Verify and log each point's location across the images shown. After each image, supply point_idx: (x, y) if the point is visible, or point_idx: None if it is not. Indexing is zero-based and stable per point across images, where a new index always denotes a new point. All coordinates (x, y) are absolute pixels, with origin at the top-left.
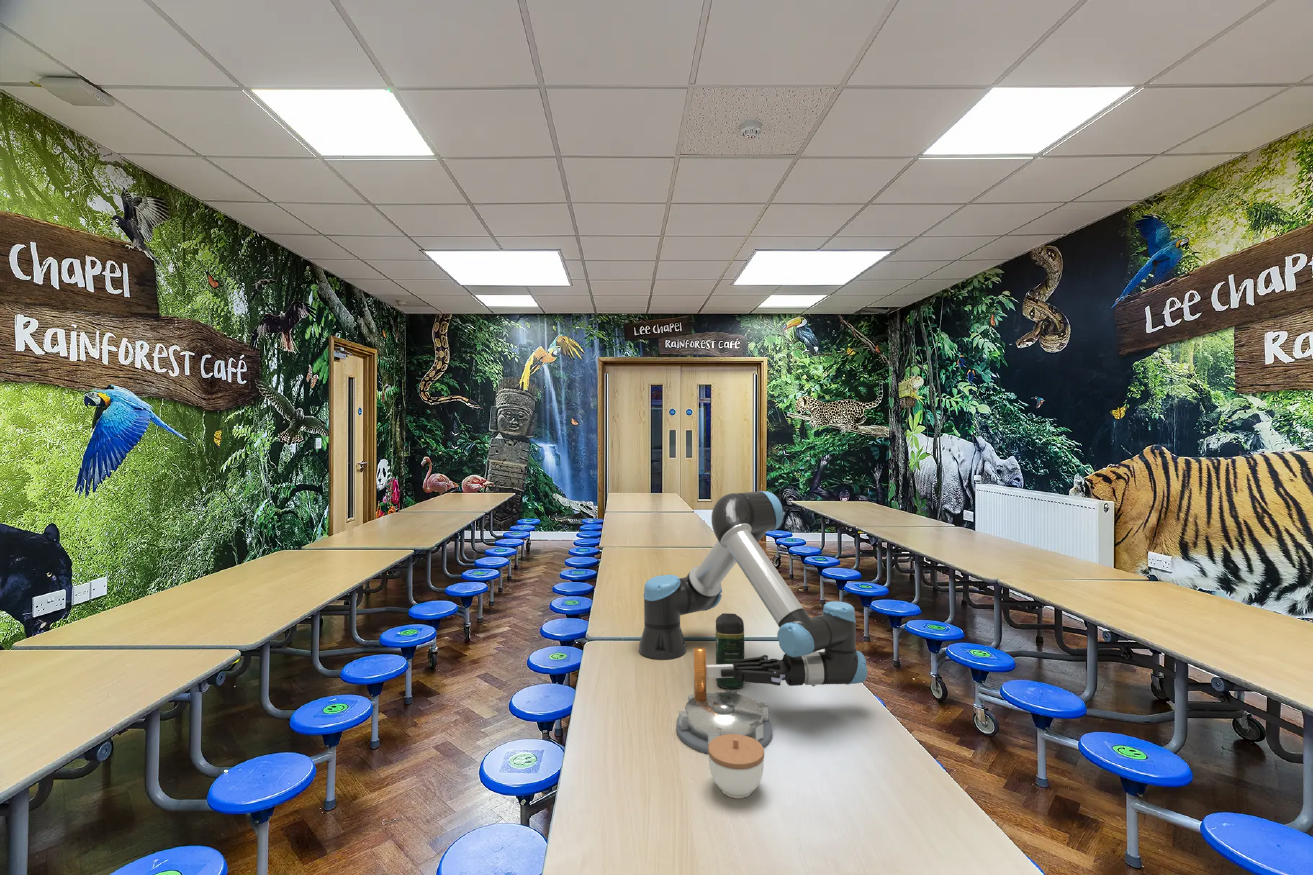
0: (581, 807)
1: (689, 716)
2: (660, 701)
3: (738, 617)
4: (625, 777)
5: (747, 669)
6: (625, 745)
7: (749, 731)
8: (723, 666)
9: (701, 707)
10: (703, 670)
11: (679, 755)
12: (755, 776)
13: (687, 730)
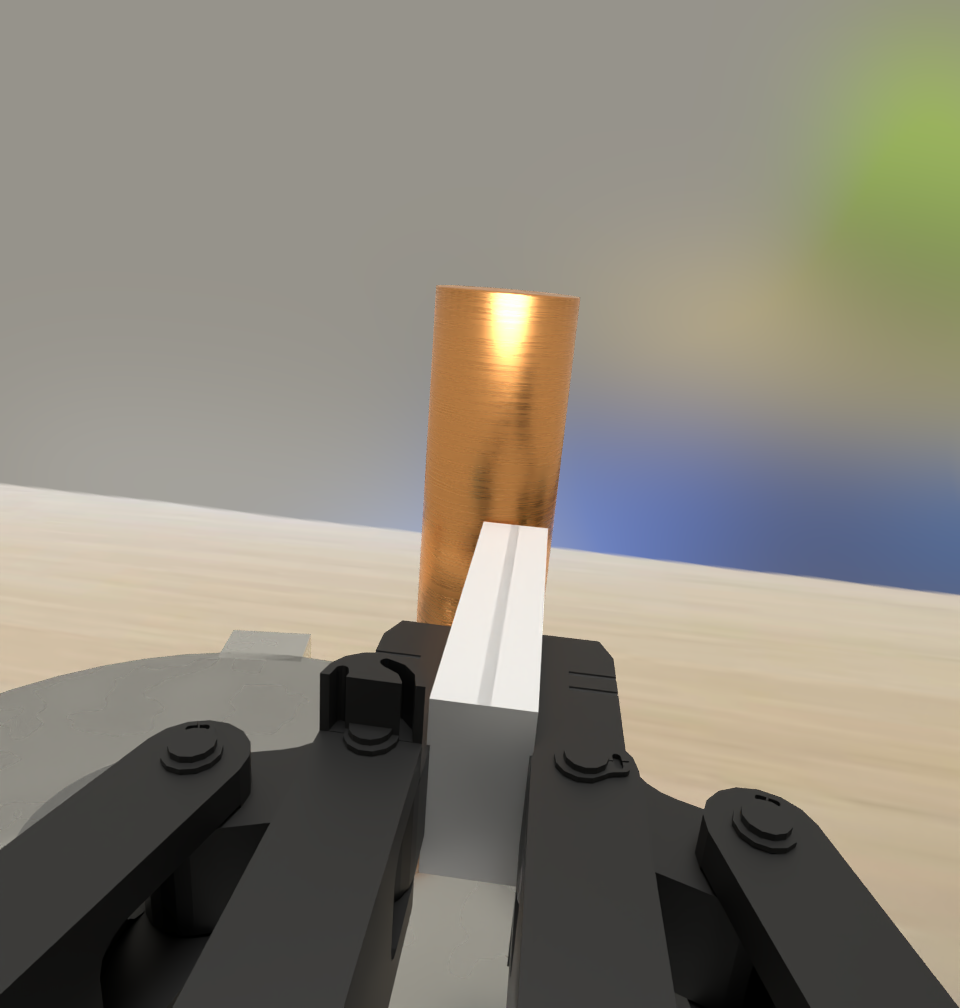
0: (33, 504)
1: (207, 657)
2: (734, 754)
3: None
4: (83, 567)
5: (228, 940)
6: (298, 593)
7: None
8: (462, 611)
9: (298, 738)
10: (428, 511)
11: None
12: None
13: None
